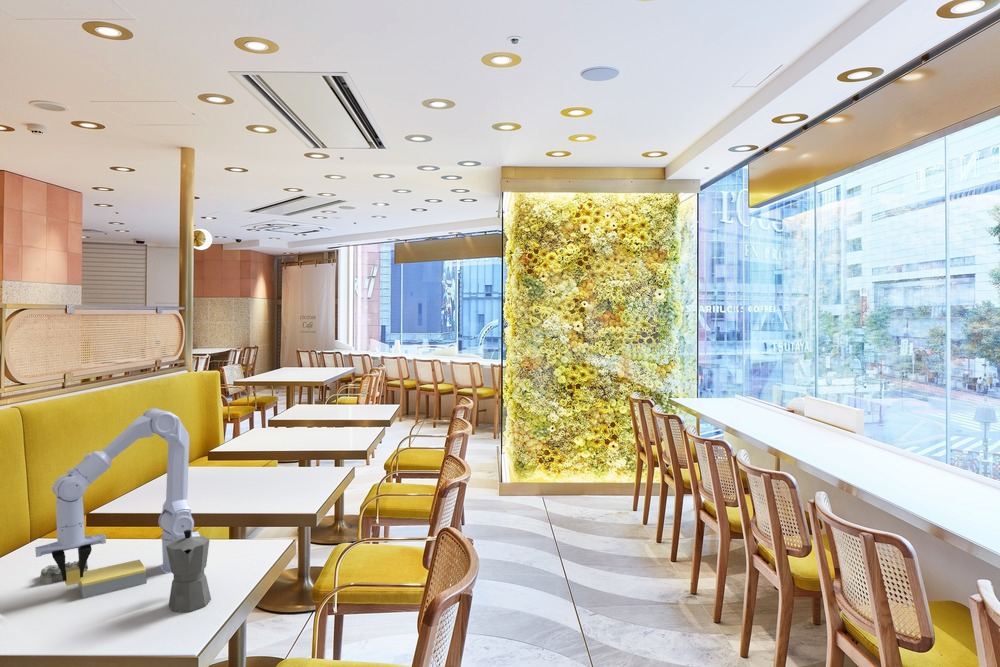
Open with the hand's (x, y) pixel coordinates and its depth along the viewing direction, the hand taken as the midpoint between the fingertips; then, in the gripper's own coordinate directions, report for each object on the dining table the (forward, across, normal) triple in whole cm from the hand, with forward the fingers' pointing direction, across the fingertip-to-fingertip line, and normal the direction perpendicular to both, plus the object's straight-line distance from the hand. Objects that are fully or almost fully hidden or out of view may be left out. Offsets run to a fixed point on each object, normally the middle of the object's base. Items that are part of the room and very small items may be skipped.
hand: (72, 578), depth 164 cm
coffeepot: (+5, -22, +23) cm, 32 cm away
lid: (+2, -7, 0) cm, 7 cm away
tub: (+5, -8, 0) cm, 10 cm away
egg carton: (+5, 0, -15) cm, 16 cm away
